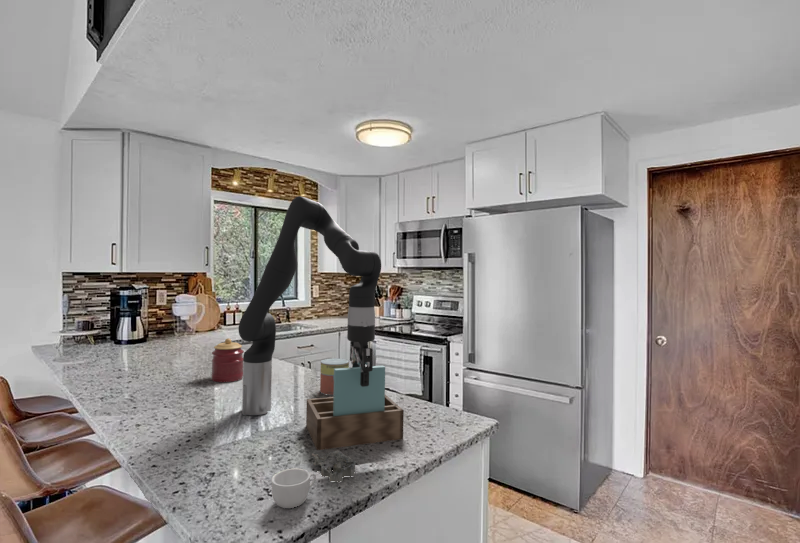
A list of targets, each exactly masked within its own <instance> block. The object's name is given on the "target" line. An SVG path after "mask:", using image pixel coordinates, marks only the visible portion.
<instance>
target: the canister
mask: <svg viewBox="0 0 800 543" xmlns="http://www.w3.org/2000/svg"><path fill="white" fill-rule="evenodd" d="M242 347H243V345H242V344H241V343H238V342H236V341H235V342H234V341H233V342H232V339H231V338H226V339H225V341H224V342H220V343H218V344H216V345H215V346H214V347H213V348H214V350H213V351H211V355H212V360H211V375H210V376H211V380H212V382H215V383H232V382H237V381H241V380H243V355H244V352H245V351H244V350H243V349H242Z"/></svg>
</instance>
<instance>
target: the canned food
mask: <svg viewBox="0 0 800 543" xmlns="http://www.w3.org/2000/svg"><path fill="white" fill-rule="evenodd" d="M349 364H350V359H349V360H348V359H345V358H340V357H339V358H338V357H337V358H336V357H335V358H334V357H333V358H326V359H321V360H320V379H319V380H320V385H319V387H320V388H319V389H320V390H319V393H320V392H321V393H320V394H322V393H323V394H322V395H324V394H327V395H326V396H334V369H337V368H350V367H349V366H350V365H349Z"/></svg>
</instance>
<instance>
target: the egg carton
mask: <svg viewBox="0 0 800 543" xmlns="http://www.w3.org/2000/svg"><path fill="white" fill-rule="evenodd" d="M311 456H313V457H314V461H313V464H312V465H314V466H320V469H316V470H315V469H314V473H318V472H317V471H321V472H320V476H321V475H322V476H321V477H323V476H324V477H323V478H326V477H325V476H329V477H328V478H329V479H328V480H330V481H338V482H340V481H342V482H343V479H342V477H344V476H350V477H351V476H354V477H355V474H354V472H355V473H356V464H357V463H358V462H359V461H358V460H355V459H353V458H351V457H350V455H349V456H348V455H347V454H344V453H343V452H342V451H341V450H339V449H338V450H333V451H329V452H327V453H325V452H324V453H323V455H322V456H321V457H320V456H319V454H318V453H317V454H315V453H313V452H312V453H311ZM328 457H331V458H334V457H336V461H332V466H333V467H331V466H329V467H324V461H326V460H327V459H328ZM343 462H344V463H343ZM343 466H345V467H343ZM332 470H333V471H332ZM331 471H332V472H331ZM330 481H329V482H330ZM338 482H337V483H338ZM340 483H341V482H340Z"/></svg>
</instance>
